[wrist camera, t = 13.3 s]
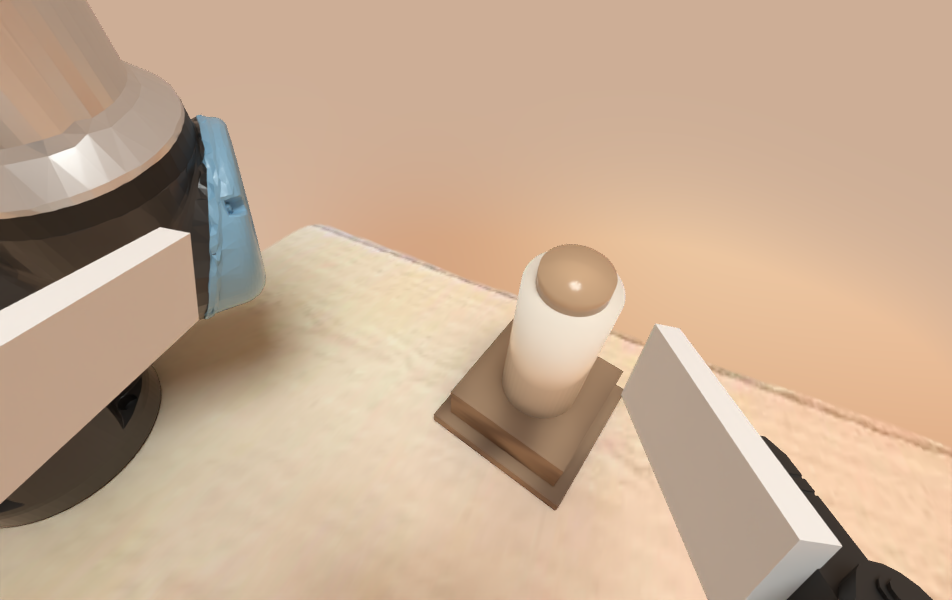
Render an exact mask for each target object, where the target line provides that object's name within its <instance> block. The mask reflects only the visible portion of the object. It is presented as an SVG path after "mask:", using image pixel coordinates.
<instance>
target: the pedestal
mask: <svg viewBox="0 0 952 600" xmlns="http://www.w3.org/2000/svg"><path fill="white" fill-rule="evenodd" d="M513 320H514V319H513ZM513 320H512V321H511V322H510V323H509V324H508V326H507V327H506V328H505V329H504V330H503V331H502V333H501V334H500V335H499V336H498V337H497V339H496V340H495V341H494V342H493V343H492V344H491V346H490V347H489V348H488V349H487V350H486V351H485V353H484V354H483V355H482V356H481V357H480V358H479V360H478V361H477V362H476V363H475V364H474V366H473V367H472V368H471V369H470V370H469V371H468V373H467V374H466V375H465V376H464V377H463V378H462V380H461V381H460V382H459V383H458V384H457V386H456V387H455V388H454V389H453V390H452V391H451V395H450V396H449V397H448V398H447V400H446V401H445V402H444V403H443V404H442V406H441V407H440V408H439V409H438V410H437V411H436V413H435V414H434V420H435V421H437V422H438V423H439V424H441V425H442V426H443V427H445V428H446V429H447V430H449V431H450V432H451V433H453V434H454V435H455V436H457V437H458V438H459V439H461V440H462V441H463V442H465V443H466V444H467V445H469V446H470V447H471V448H473V449H474V450H475V451H477V452H478V453H479V454H481V455H482V456H483V457H485V458H486V459H487V460H489V461H490V462H491V463H493V464H494V465H495V466H497V467H498V468H499V469H501V470H502V471H503V472H505V473H506V474H507V475H509V476H510V477H511V478H513V479H514V480H515V481H517V482H518V483H519V484H521V485H522V486H523V487H525V488H526V489H527V490H529V491H530V492H531V493H533V494H534V495H535V496H537V497H538V498H539V499H541V500H542V501H543V502H545V503H546V504H547V505H549V506H550V507H551V508H553V509H554V510H556V509H557V508H558V506H559V505H560V503H561V501H562V499H563V498H564V496H565V494H566V492H567V491H568V489H569V487H570V485H571V484H572V482H573V480H574V478H575V477H576V475H577V473H578V472H579V470H580V468H581V466H582V465H583V463H584V461H585V459H586V458H587V456H588V454H589V452H590V451H591V449H592V447H593V445H594V444H595V442H596V440H597V438H598V437H599V435H600V433H601V431H602V430H603V428H604V426H605V424H606V423H607V421H608V419H609V417H610V416H611V414H612V412H613V410H614V409H615V407H616V405H617V403H618V402H619V400H620V398H621V394H622V391H623V389H622V388H621V387H619V386H617V385H616V383H617V381H618V380H619V378H620V376H621V374H622V373H623V371H622V370H620V369H619V368H617V367H615V366H613V365H612V364H610V363H608V362H607V361H605V360H603V359H602V358H600V357H597V359H596V361H595V363H594V365H593V366H592V368H591V370H590V372H589V374H588V376H587V378H586V380H585V382H584V384H583V386H582V388H581V390H580V391H579V393H578V395H577V397H576V399H575V401H574V403H573V404H572V406H571V407H570V408H569V409H568V410H567V411H566V412H564V413H563V414H561V415H559V416H556V417H552V418H535V417H532V416H529V415H526V414H524V413H522V412H521V411H519V410H518V409H517V408H515V407H514V406H513V405H512V404H511V402H510V401H509V400H508V398H507V397H506V395H505V392H504V389H503V385H502V376H503V370H504V365H505V360H506V355H507V350H508V345H509V340H510V335H511V330H512V325H513Z"/></svg>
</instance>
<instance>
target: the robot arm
mask: <svg viewBox="0 0 952 600" xmlns="http://www.w3.org/2000/svg"><path fill="white" fill-rule="evenodd" d="M265 279H266V275H265V270H264V265H263V261H262V256H261V252H260V248H259V244H258V240H257V236H256V232H255V228H254V224H253V221H252V216H251V213H250V209H249V205H248V201H247V197H246V194H245V190H244V186H243V182H242V179H241V175H240V171H239V167H238V163H237V160H236V156H235V153H234V149H233V146H232V142H231V139H230V136H229V133H228V130H227V126H226V124H225V123H224V122H223V121H222V120H221V119H219V118H216V117H206V116H201V115H198V116H196V117H195V118H193V119H190V118H189V116H188V114H187V112H186V110H185V108H184V106H183V104H182V101H181V99H180V98H179V96H178V95H177V93H176V92H175V90H174V89H173V88H172V86H171V85H170V84H169V83H167V82H166V81H165V80H164V79H162V78H161V77H159V76H157V75H155V74H153V73H151V72H149V71H146V70H144V69H142V68H139V67H137V66H134V65H132V64H129V63H127V62H125V61H122V60H121V59H120V57H119V55H118V54H117V52H116V50H115V49H114V47H113V45H112V44H111V42H110V40H109V38H108V36H107V35H106V33H105V32H104V30H103V28H102V26H101V24H100V23H99V21H98V19H97V17H96V16H95V14H94V13H93V11H92V9H91V7H90V5H89V4H88V2H87V0H0V528H4V527H13V526H19V525H24V524H28V523H32V522H36V521H39V520H42V519H45V518H47V517H50V516H52V515H55V514H57V513H59V512H62V511H64V510H66V509H68V508H70V507H72V506H73V505H75V504H77V503H79V502H80V501H82V500H84V499H85V498H87V497H88V496H90V495H91V494H93V493H94V492H96V491H97V490H98V489H100V488H101V487H102V486H104V485H105V484H106V483H107V482H108V481H110V480H111V479H112V478H113V477H114V476H115V475H116V474H117V473H118V472H120V471H121V470H122V469H123V467H124V466H125V465H126V464H127V463H128V462H129V461H130V460H131V459H132V458H133V456H134V455H135V454H136V453H137V451H138V450H139V448H140V447H141V446H142V444H143V443H144V441H145V440H146V438H147V436H148V434H149V433H150V431H151V429H152V427H153V424H154V422H155V419H156V417H157V413H158V410H159V405H160V397H161V390H160V383H159V379H158V376H157V374H156V372H155V370H154V368H153V367H152V365H151V364H152V363H153V362H154V361H155V360H156V359H158V358H159V357H160V356H161V355H162V354H163V353H164V352H165V351H166V350H167V349H168V348H169V347H171V346H172V345H173V344H174V343H175V342H176V341H177V340H178V339H179V338H180V337H181V336H182V335H183V334H185V333H186V332H187V331H188V330H189V329H190V328H191V327H192V326H193V325H194V324H195V323H196V322H198V321H199V320H200V319H208V318H211V317H212V316H214V315H215V313H218V312H221V311H223V310H226V309H229V308H232V307H235V306H238V305H240V304H243V303H246V302H249V301H251V300H253V299H254V298H256V297H257V296H258V295H259V294H260V293H261V291H262V290H263V287H264V285H265ZM621 396H622V399H623V401H624V403H625V406H626V408H627V410H628V413H629V415H630V417H631V420H632V422H633V424H634V427H635V429H636V432H637V434H638V436H639V439H640V441H641V443H642V446H643V448H644V450H645V453H646V455H647V457H648V460H649V462H650V465H651V467H652V469H653V472H654V474H655V476H656V479H657V481H658V483H659V486H660V488H661V491H662V493H663V495H664V498H665V500H666V502H667V505H668V507H669V509H670V512H671V514H672V516H673V519H674V521H675V524H676V526H677V528H678V531H679V533H680V535H681V538H682V540H683V542H684V545H685V547H686V549H687V552H688V554H689V557H690V559H691V561H692V564H693V566H694V568H695V571H696V573H697V575H698V578H699V580H700V583H701V585H702V587H703V590H704V592H705V594H706V597H707V599H708V600H933V599H932V598H931V597H929V596H928V595H927V594H926V593H925V592H924V591H923V590H922V589H921V588H920V587H919V586H918V585H916V584H915V583H914V582H912V581H911V580H910V579H908V578H907V577H905V576H904V575H903V574H901V573H900V572H898V571H896V570H894V569H892V568H890V567H888V566H886V565H884V564H881V563H877V562H873V561H868V559H867V558H866V557H865V555H864V554H863V553H862V552H861V550H860V549H859V548H858V546H857V545H856V544H855V543H854V541H853V540H852V539H851V537H850V536H849V535H848V534H847V532H846V531H845V530H844V529H843V527H842V526H841V525H840V523H839V522H838V521H837V520H836V518H835V517H834V516H833V514H832V513H831V512H830V511H829V509H828V508H827V507H826V505H825V504H824V503H823V502H822V500H821V499H820V498H819V496H815V494H814V492H815V491H814V490H813V489H812V487H811V486H810V485H809V484H808V482H807V481H806V480H805V479H802V477H801V476H802V475H801V473H800V472H799V471H798V469H797V468H796V467H795V466H794V464H793V463H792V462H791V460H790V459H789V458H788V457H787V455H786V454H784V453H783V452H782V451H781V450H780V449H779V448H778V447H776V446H775V445H774V444H773V443H772V442H771V441H770V440H768V439H767V438H766V437H764V436H760V435H759V434H758V433H757V431H756V430H755V429H754V427H753V426H752V425H751V423H750V422H749V420H748V419H747V418H746V416H745V415H744V414H743V412H742V411H741V410H740V408H739V407H738V406H737V404H736V403H735V402H734V400H733V399H732V398H731V396H730V395H729V394H728V392H727V391H726V390H725V388H724V387H723V386H722V384H721V383H720V382H719V380H718V379H717V378H716V376H715V375H714V374H713V372H712V371H711V370H710V368H709V367H708V366H707V364H706V363H705V362H704V360H703V359H702V358H701V356H700V355H699V354H698V352H697V351H696V350H695V348H694V347H693V346H692V344H691V343H690V342H689V340H688V339H687V338H686V336H685V335H684V334H683V332H682V331H681V330H680V329H679V328H675V327H670V326H665V325H660V324H655V325H654V327H653V329H652V331H651V333H650V335H649V337H648V340H647V342H646V344H645V346H644V348H643V350H642V352H641V354H640V356H639V358H638V360H637V362H636V364H635V367H634V369H633V371H632V373H631V375H630V377H629V379H628V381H627V383H626V385H625V387H624V389H623V391H622V394H621Z"/></svg>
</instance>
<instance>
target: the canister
mask: <svg viewBox="0 0 952 600" xmlns="http://www.w3.org/2000/svg"><path fill="white" fill-rule="evenodd" d="M624 303H625V289H624V285H623V283H622V280H621V279H620V277H619V275H618V274H617V272H616V270H615V268H614V266H613V264H612V263H611V262H610V261H609V260H608V259H607V258H606V257H605V256H604V255H603V254H601V253H599V252H598V251H596V250H594V249H592V248H589V247H586V246H582V245H575V244H574V245H573V244H567V245H561V246H557V247H554V248H552V249H550V250H549V251H547V252H545V253H542V254H540V255H538V256H536V257H535V258H534V259H532V260H531V261H530V262H529V264H528V265H527V266H526V268H525V270H524V272H523V275H522V280H521V285H520V290H519V295H518V300H517V305H516V310H515V315H514V320H513V325H512V330H511V335H510V340H509V345H508V350H507V355H506V360H505V365H504V370H503V376H502V385H503V389H504V392H505V395H506V397H507V398H508V400H509V401H510V402H511V404H512V405H513V406H514V407H515V408H517V409H518V410H519V411H521V412H522V413H524V414H526V415H529V416H532V417H535V418H552V417H556V416H559V415H561V414H563V413H564V412H566V411H567V410H568V409H569V408H570V407H571V406H572V404H573V403H574V401H575V399H576V397H577V395H578V393H579V391H580V390H581V388H582V386H583V384H584V382H585V380H586V378H587V376H588V374H589V372H590V370H591V368H592V366H593V365H594V363H595V361H596V359H597V357H598V355H599V353H600V351H601V349H602V347H603V345H604V343H605V341H606V340H607V338H608V336H609V334H610V332H611V330H612V328H613V326H614V324H615V322H616V320H617V318H618V316H619V315H620V312H621V311H622V309H623V307H624Z"/></svg>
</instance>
